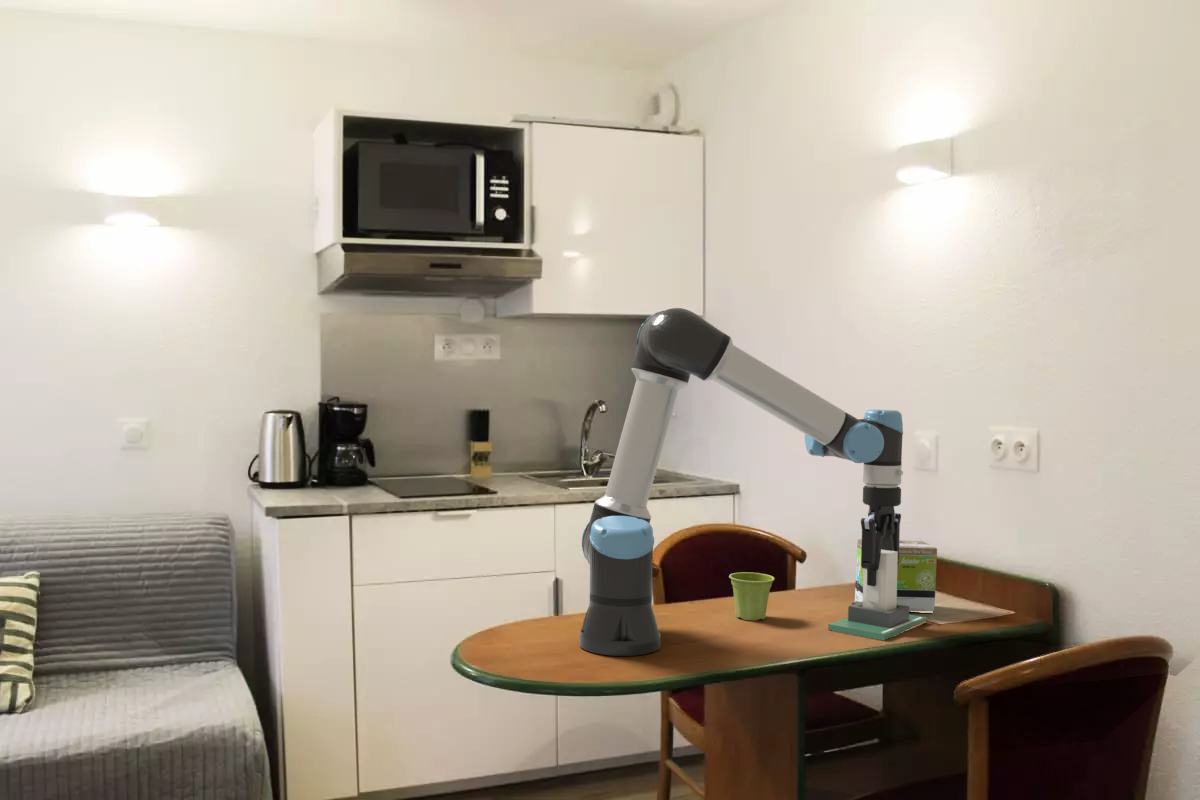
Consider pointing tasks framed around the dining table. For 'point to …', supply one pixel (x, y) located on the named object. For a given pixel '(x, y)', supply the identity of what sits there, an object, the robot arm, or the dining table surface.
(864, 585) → the plug
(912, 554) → the tea box
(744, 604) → the plant pot
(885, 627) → the board
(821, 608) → the dining table surface
